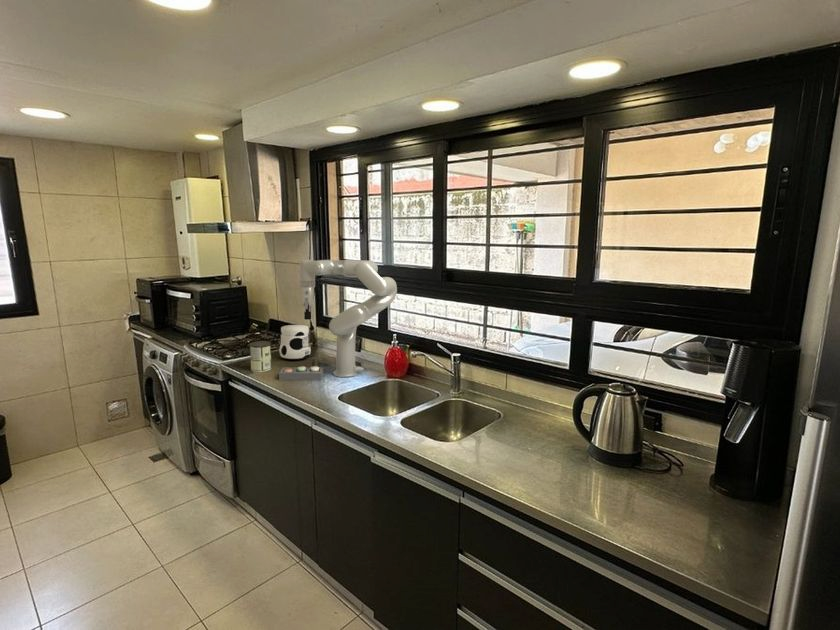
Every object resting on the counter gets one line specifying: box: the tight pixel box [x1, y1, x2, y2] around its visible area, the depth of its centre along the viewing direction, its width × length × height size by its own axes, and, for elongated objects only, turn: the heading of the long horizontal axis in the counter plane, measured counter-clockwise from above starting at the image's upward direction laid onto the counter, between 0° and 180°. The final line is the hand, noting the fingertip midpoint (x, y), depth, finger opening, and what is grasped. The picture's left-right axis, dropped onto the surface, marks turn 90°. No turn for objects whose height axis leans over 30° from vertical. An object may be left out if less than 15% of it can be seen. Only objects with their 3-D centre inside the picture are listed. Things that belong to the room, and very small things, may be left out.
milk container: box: [278, 324, 312, 361], centre depth 248 cm, size 17×17×18 cm
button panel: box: [278, 366, 324, 381], centre depth 216 cm, size 20×10×4 cm, turn 97°
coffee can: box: [249, 340, 272, 373], centre depth 225 cm, size 10×10×14 cm
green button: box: [296, 365, 306, 372], centre depth 216 cm, size 4×4×2 cm
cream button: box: [310, 365, 319, 372], centre depth 217 cm, size 4×4×2 cm
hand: (307, 319), depth 225 cm, fingers closed
